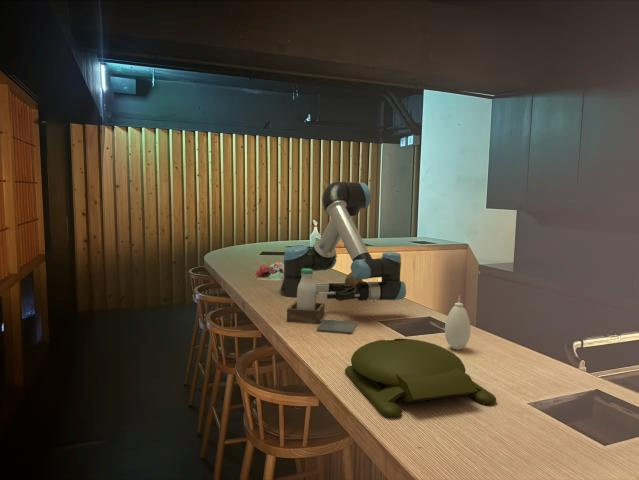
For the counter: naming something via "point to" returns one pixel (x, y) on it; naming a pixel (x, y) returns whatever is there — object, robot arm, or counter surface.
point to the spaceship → (410, 374)
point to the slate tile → (337, 326)
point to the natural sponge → (352, 280)
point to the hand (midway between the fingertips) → (315, 291)
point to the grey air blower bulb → (457, 327)
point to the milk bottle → (306, 291)
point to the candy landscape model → (271, 272)
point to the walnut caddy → (306, 314)
